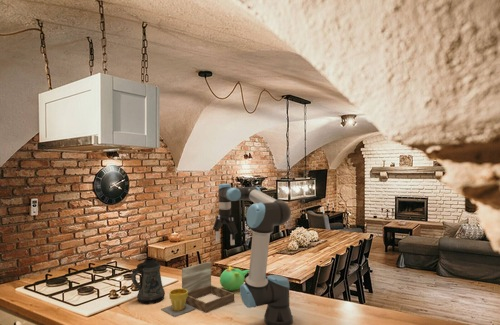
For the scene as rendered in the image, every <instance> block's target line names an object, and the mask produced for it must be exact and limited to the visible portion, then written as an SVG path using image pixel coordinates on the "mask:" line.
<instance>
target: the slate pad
mask: <svg viewBox="0 0 500 325" xmlns="http://www.w3.org/2000/svg"><path fill="white" fill-rule="evenodd" d="M160 310H161V311H162V312H165V313H167V314H168V315H170V316H172V317H174V318H176V317H179V316H182V315H185V314H187V313H189V312H192V311H195V310H197V309H196V308H194V307H192V306H190V305H188V304H185V308H184V309H183V310H180V311H175V310H173V308H172V304H171V305H168V306H165V307H163V308H160Z"/></svg>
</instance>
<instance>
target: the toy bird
mask: <svg viewBox="0 0 500 325" xmlns="http://www.w3.org/2000/svg"><path fill="white" fill-rule="evenodd" d="M247 274H249V269H245V270H241V269H240V268H237V267H232V266H228V268H227V269H224V270H223V271H222V273H221V274H220V276H219V283H220V286H221V287H222V289H224V290H226V291H236V290H240V286H241V285H242V284H245V279H246V277H245V276H246V275H247Z"/></svg>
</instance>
